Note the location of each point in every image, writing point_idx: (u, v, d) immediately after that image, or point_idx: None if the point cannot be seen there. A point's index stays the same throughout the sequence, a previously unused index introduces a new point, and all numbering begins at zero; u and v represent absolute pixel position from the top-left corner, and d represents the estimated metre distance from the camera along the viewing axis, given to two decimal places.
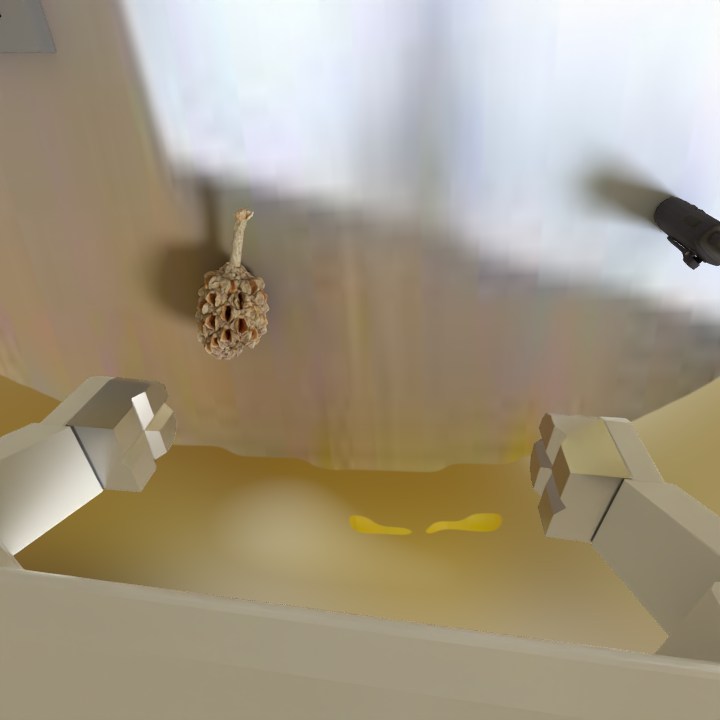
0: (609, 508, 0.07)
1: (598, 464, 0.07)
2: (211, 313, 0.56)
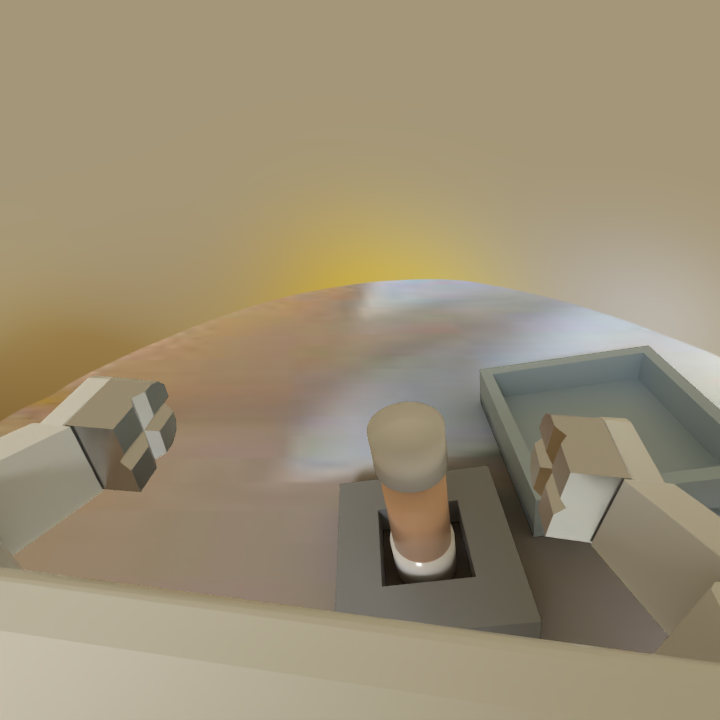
0: (610, 508, 0.07)
1: (598, 464, 0.07)
2: None
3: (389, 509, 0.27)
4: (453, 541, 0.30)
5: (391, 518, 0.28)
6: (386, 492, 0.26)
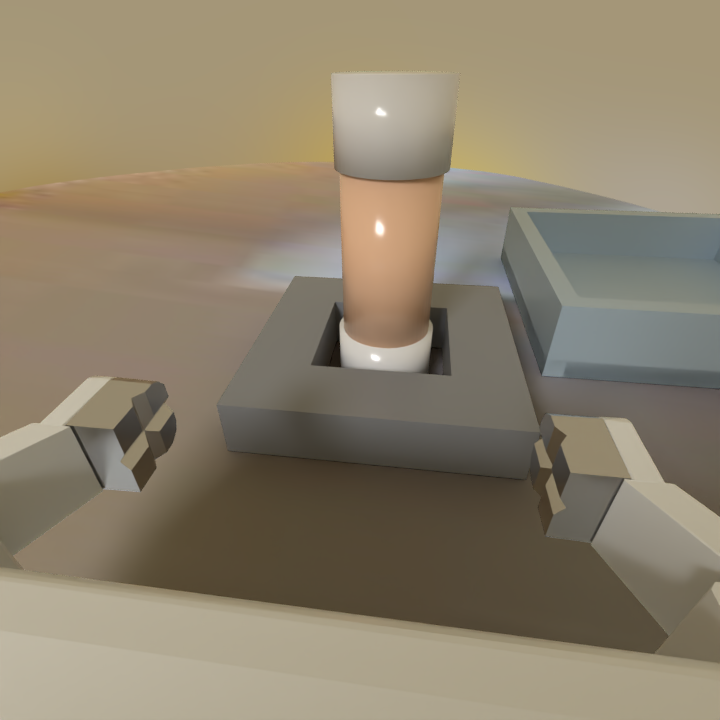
0: (610, 508, 0.07)
1: (598, 464, 0.07)
2: None
3: (344, 241, 0.18)
4: (429, 336, 0.20)
5: (345, 261, 0.18)
6: (344, 200, 0.17)
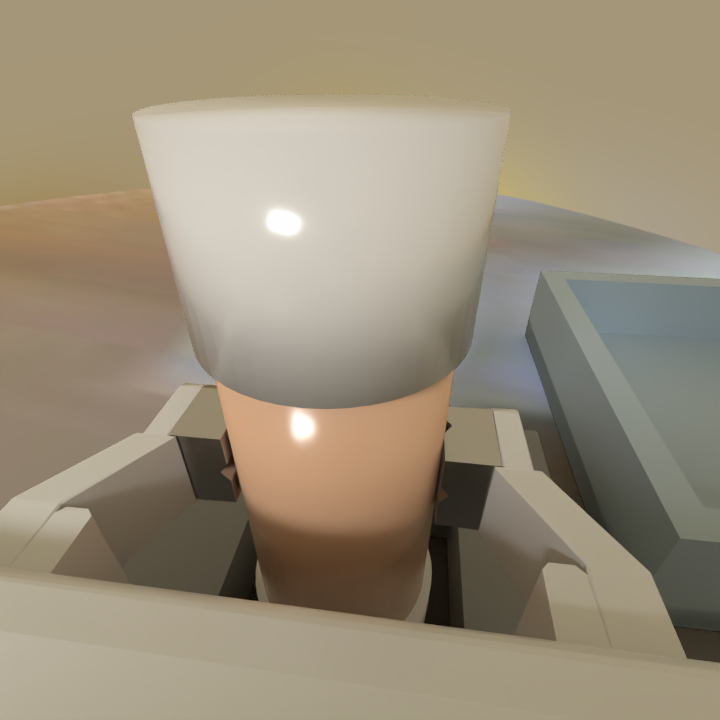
0: (487, 495, 0.08)
1: (475, 453, 0.08)
2: None
3: (236, 467, 0.08)
4: (425, 599, 0.10)
5: (243, 498, 0.08)
6: (221, 401, 0.07)
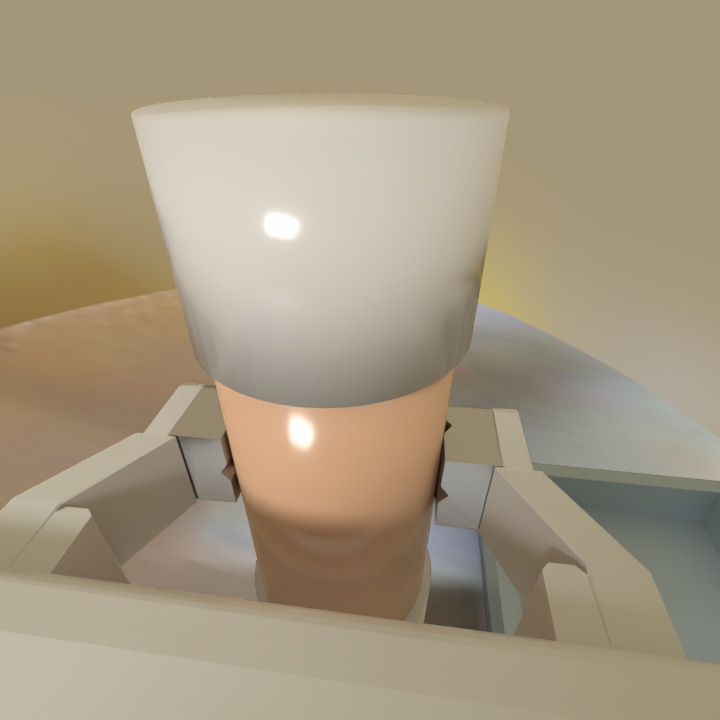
0: (487, 495, 0.08)
1: (475, 453, 0.08)
2: None
3: (235, 467, 0.08)
4: (424, 599, 0.10)
5: None
6: (220, 400, 0.07)
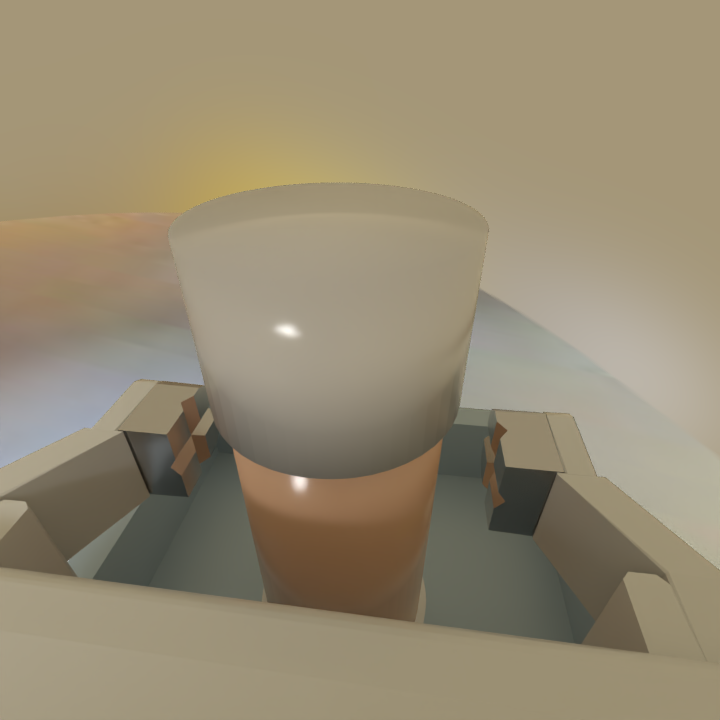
0: (547, 501, 0.08)
1: (534, 458, 0.07)
2: None
3: (247, 512, 0.09)
4: None
5: (253, 538, 0.09)
6: (235, 458, 0.08)
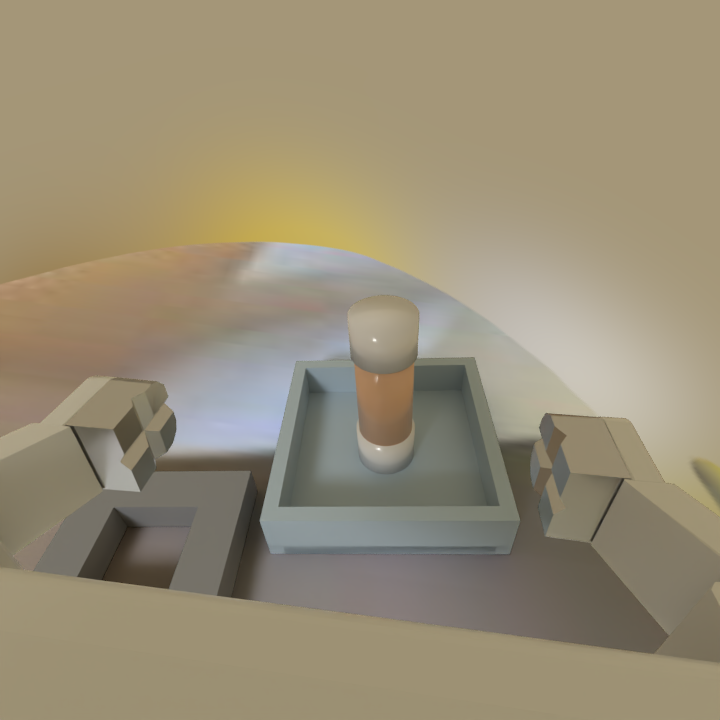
0: (610, 508, 0.07)
1: (598, 464, 0.07)
2: None
3: (359, 392, 0.30)
4: (413, 432, 0.33)
5: (360, 401, 0.30)
6: (358, 375, 0.29)
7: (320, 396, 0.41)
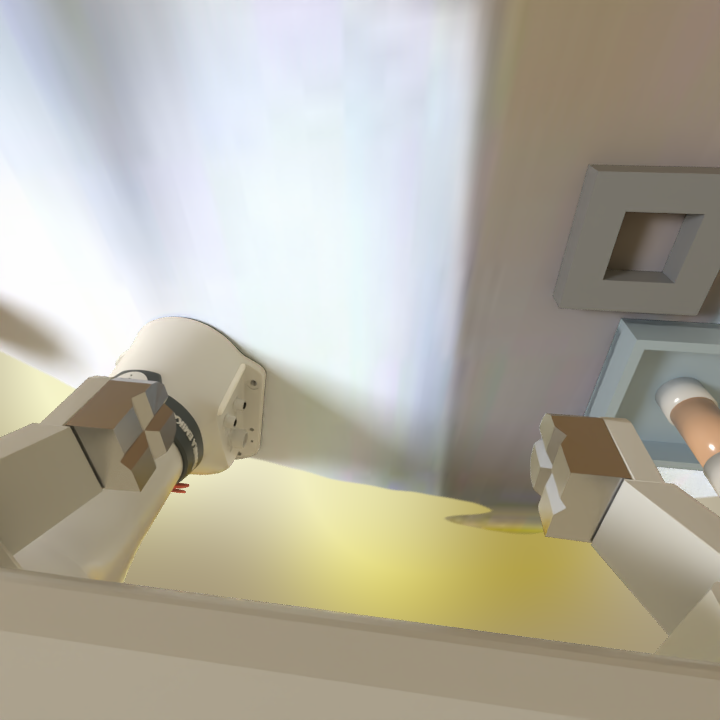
0: (610, 508, 0.07)
1: (598, 464, 0.07)
2: None
3: (712, 429, 0.40)
4: None
5: (707, 422, 0.40)
6: None
7: None
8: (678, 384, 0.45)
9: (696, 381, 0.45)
